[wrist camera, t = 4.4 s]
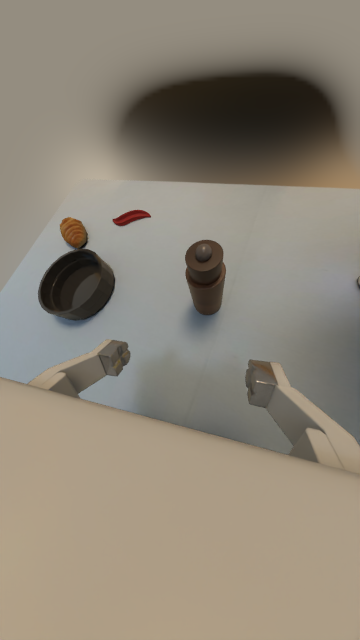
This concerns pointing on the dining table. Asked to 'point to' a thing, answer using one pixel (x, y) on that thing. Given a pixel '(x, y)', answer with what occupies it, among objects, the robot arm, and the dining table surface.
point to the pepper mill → (205, 275)
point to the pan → (76, 285)
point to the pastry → (73, 232)
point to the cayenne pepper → (130, 217)
